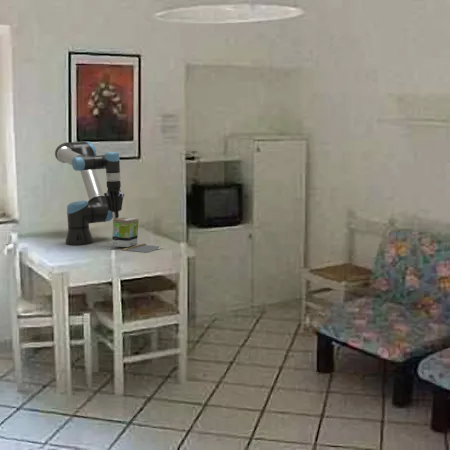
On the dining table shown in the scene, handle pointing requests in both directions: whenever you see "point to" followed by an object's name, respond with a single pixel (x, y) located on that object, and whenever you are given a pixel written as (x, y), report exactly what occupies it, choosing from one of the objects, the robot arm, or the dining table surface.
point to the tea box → (125, 232)
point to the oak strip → (132, 247)
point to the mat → (144, 248)
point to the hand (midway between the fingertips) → (115, 223)
